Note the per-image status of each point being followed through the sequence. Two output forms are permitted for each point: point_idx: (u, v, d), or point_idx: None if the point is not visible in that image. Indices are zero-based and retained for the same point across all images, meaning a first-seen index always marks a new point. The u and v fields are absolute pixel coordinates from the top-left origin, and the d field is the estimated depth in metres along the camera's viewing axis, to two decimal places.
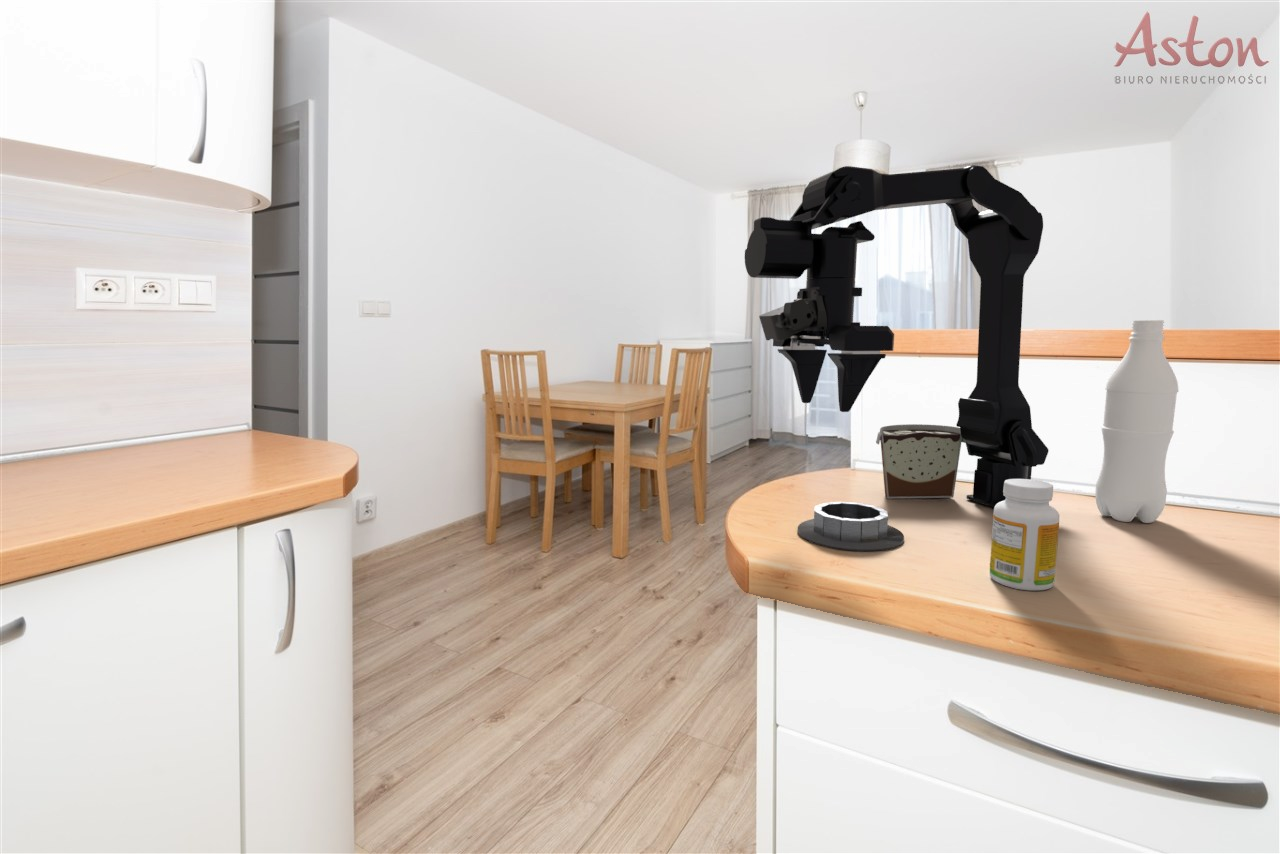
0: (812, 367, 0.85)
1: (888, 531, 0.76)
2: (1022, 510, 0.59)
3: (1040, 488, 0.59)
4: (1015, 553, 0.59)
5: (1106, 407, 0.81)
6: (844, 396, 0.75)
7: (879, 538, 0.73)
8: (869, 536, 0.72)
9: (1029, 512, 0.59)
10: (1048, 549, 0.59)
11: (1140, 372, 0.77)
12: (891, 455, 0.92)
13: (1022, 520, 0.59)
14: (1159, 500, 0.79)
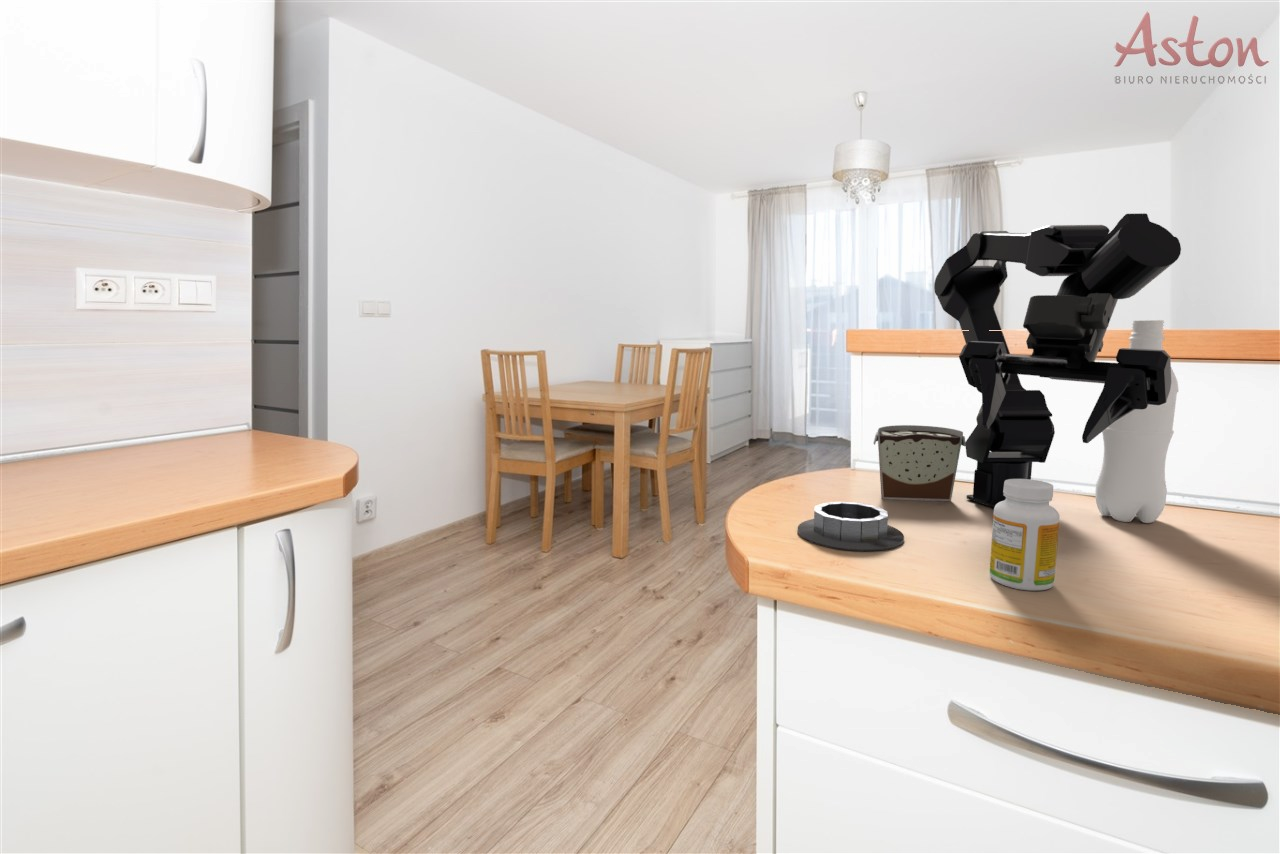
0: (998, 397, 0.72)
1: (888, 531, 0.76)
2: (1022, 510, 0.59)
3: (1040, 488, 0.59)
4: (1015, 553, 0.59)
5: None
6: (1098, 422, 0.62)
7: (879, 538, 0.73)
8: (869, 536, 0.72)
9: (1029, 512, 0.59)
10: (1048, 549, 0.59)
11: None
12: (887, 455, 0.92)
13: (1022, 520, 0.59)
14: (1159, 500, 0.79)
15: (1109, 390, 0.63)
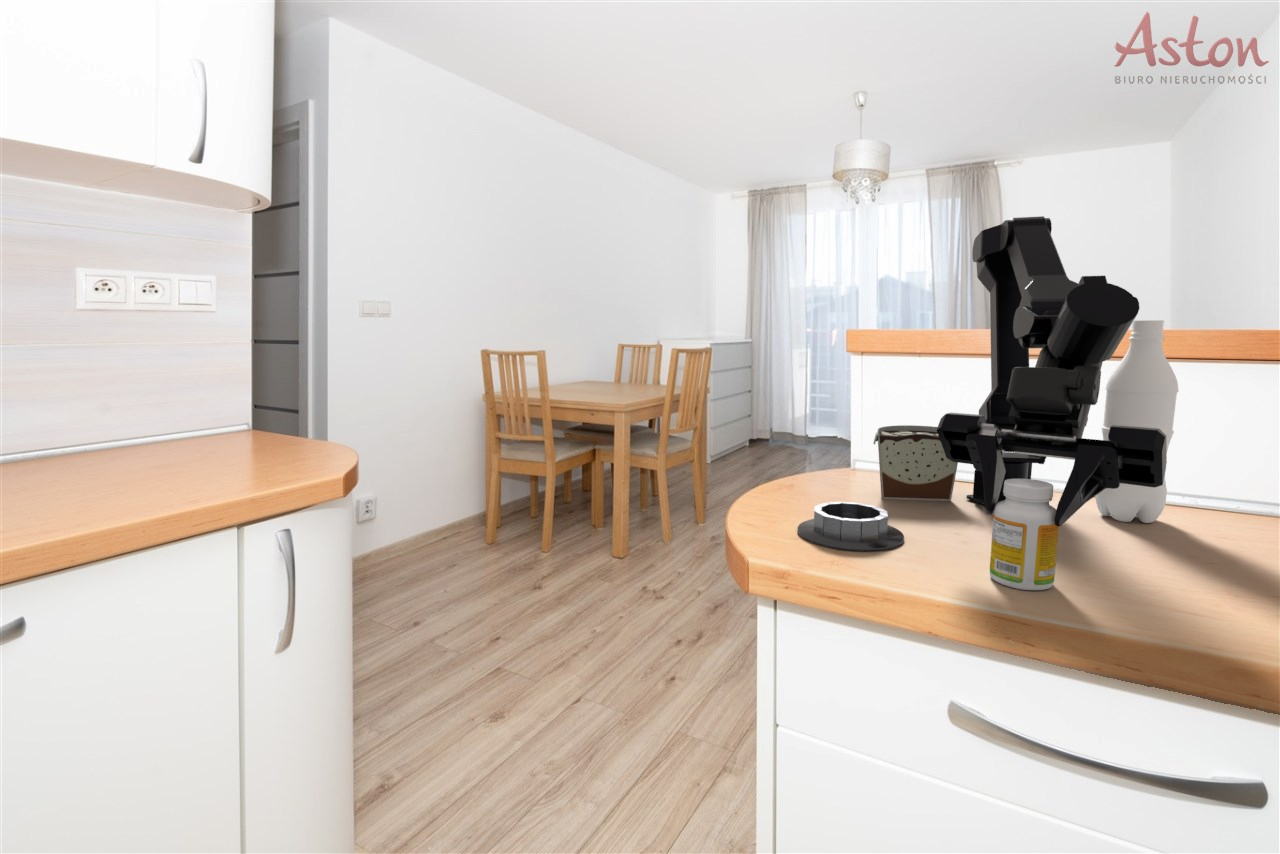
0: (999, 477, 0.64)
1: (888, 531, 0.76)
2: (1022, 510, 0.59)
3: (1040, 488, 0.59)
4: (1015, 553, 0.59)
5: (1106, 407, 0.81)
6: (1071, 504, 0.58)
7: (879, 538, 0.73)
8: (869, 536, 0.72)
9: (1029, 511, 0.59)
10: (1048, 549, 0.59)
11: (1140, 372, 0.77)
12: (887, 455, 0.92)
13: (1022, 520, 0.59)
14: (1159, 500, 0.79)
15: (1080, 469, 0.58)
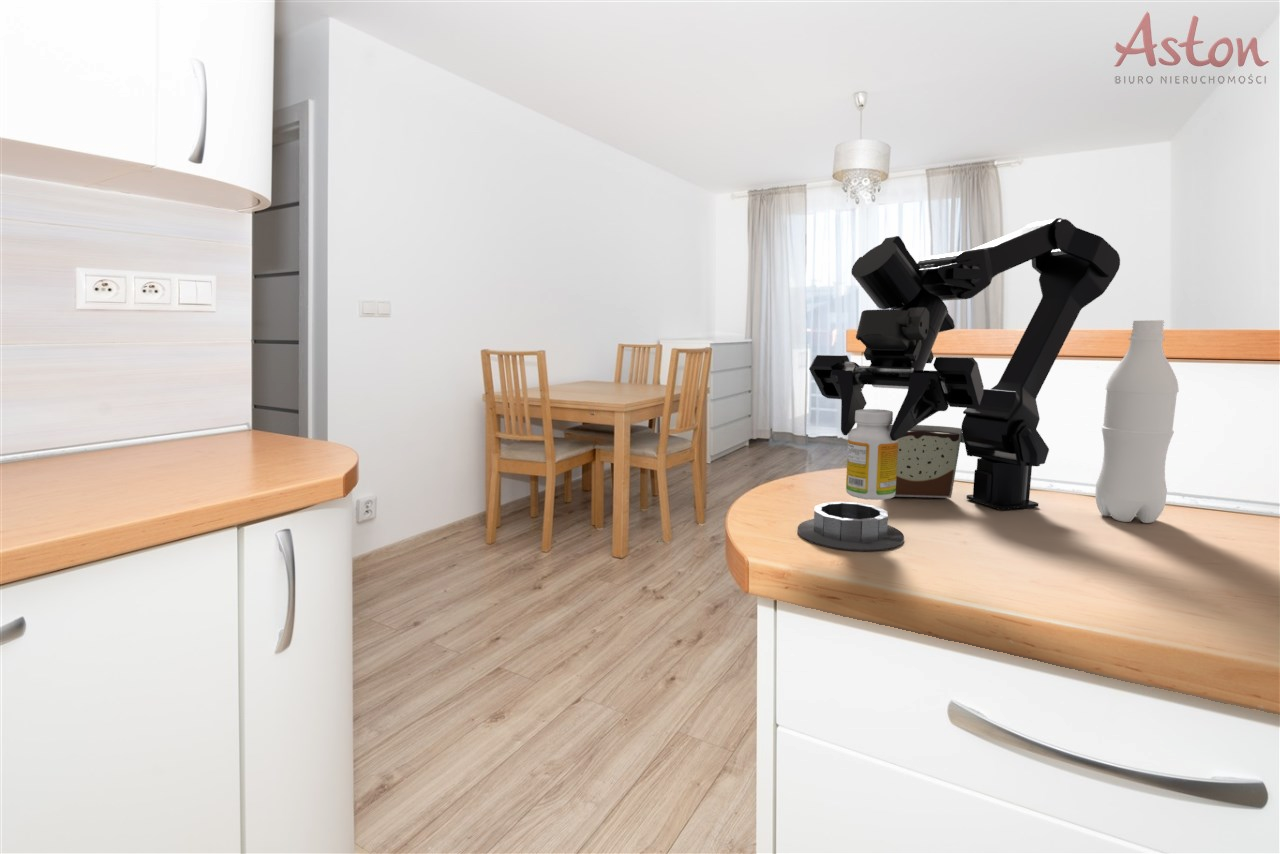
0: (857, 406, 0.76)
1: (888, 531, 0.76)
2: (866, 432, 0.71)
3: (880, 413, 0.70)
4: (861, 468, 0.71)
5: (1106, 407, 0.81)
6: (903, 421, 0.70)
7: (879, 538, 0.73)
8: (869, 536, 0.72)
9: (871, 433, 0.71)
10: (887, 464, 0.71)
11: (1140, 372, 0.77)
12: None
13: (866, 440, 0.71)
14: (1159, 500, 0.79)
15: (912, 393, 0.70)
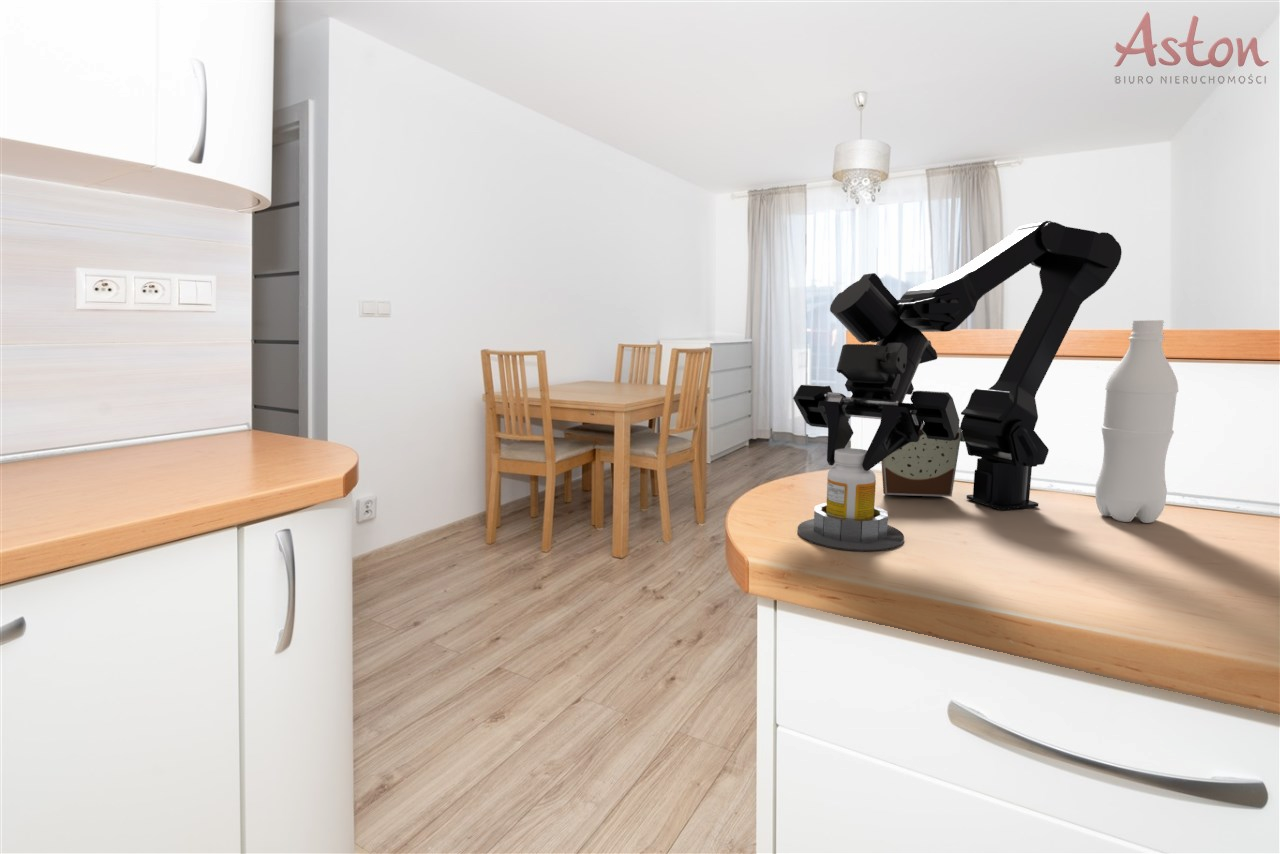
0: (844, 436, 0.78)
1: (888, 531, 0.76)
2: (844, 473, 0.73)
3: (858, 454, 0.73)
4: (839, 507, 0.74)
5: (1106, 407, 0.81)
6: (875, 452, 0.72)
7: (879, 538, 0.73)
8: (869, 536, 0.72)
9: (849, 474, 0.73)
10: (864, 504, 0.73)
11: (1140, 372, 0.77)
12: None
13: (844, 480, 0.73)
14: (1159, 500, 0.79)
15: (884, 425, 0.73)
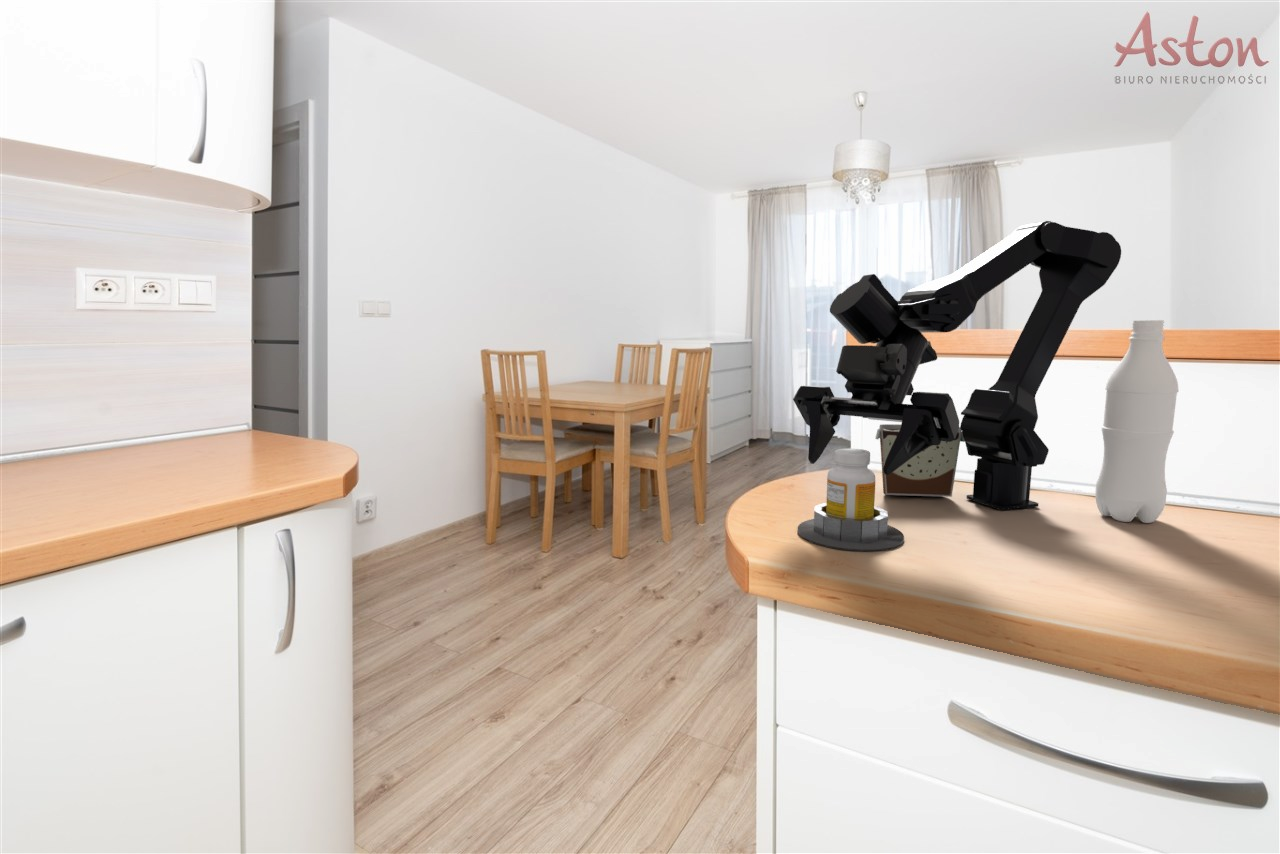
0: (825, 435, 0.80)
1: (888, 531, 0.76)
2: (844, 473, 0.73)
3: (857, 454, 0.73)
4: (839, 507, 0.74)
5: (1106, 407, 0.81)
6: (896, 456, 0.71)
7: (879, 538, 0.73)
8: (869, 536, 0.72)
9: (849, 474, 0.73)
10: (864, 504, 0.73)
11: (1140, 372, 0.77)
12: None
13: (844, 480, 0.73)
14: (1159, 500, 0.79)
15: (905, 428, 0.71)
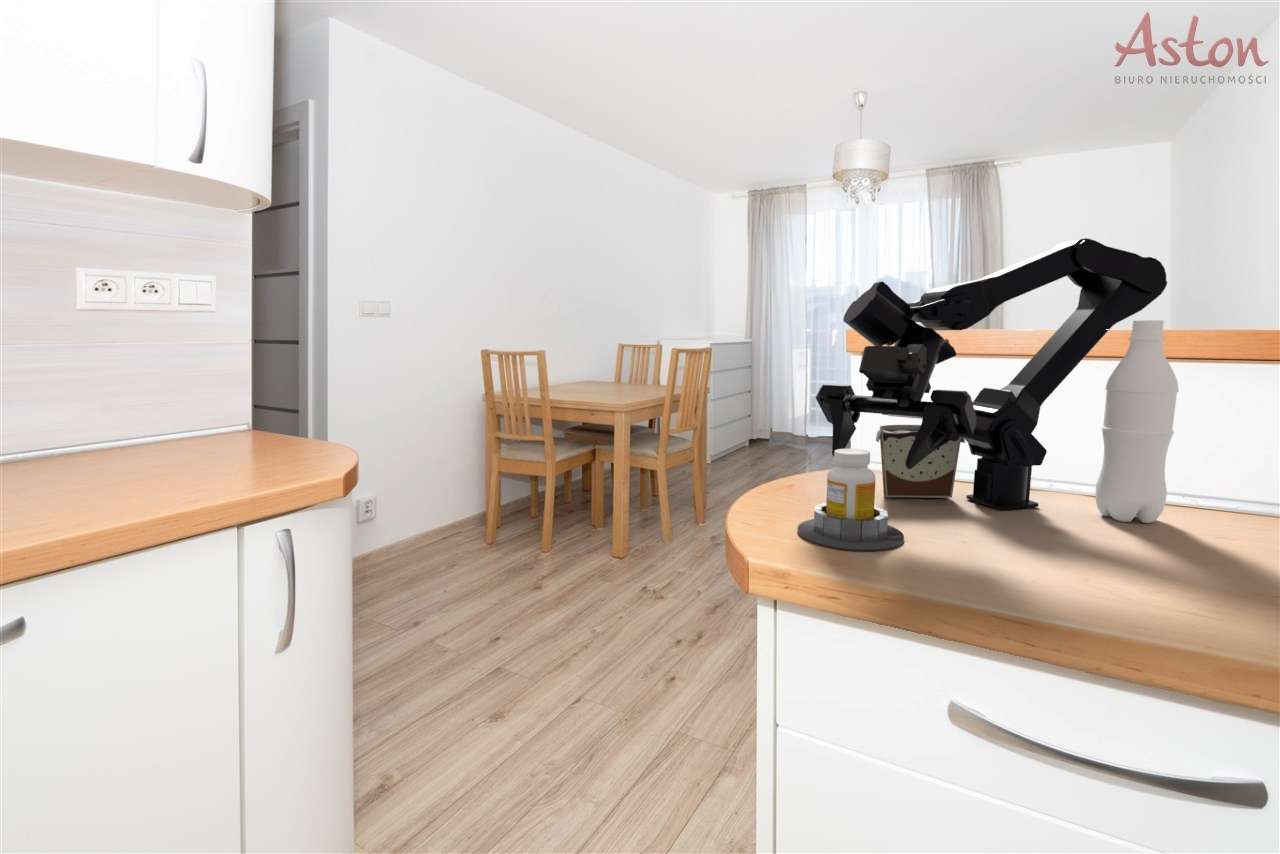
0: (847, 431, 0.84)
1: (888, 531, 0.76)
2: (844, 473, 0.73)
3: (857, 454, 0.73)
4: (839, 507, 0.74)
5: (1106, 407, 0.81)
6: (918, 451, 0.75)
7: (879, 538, 0.73)
8: (869, 536, 0.72)
9: (849, 473, 0.73)
10: (864, 504, 0.73)
11: (1140, 372, 0.77)
12: (890, 453, 0.92)
13: (844, 480, 0.73)
14: (1159, 500, 0.79)
15: (926, 424, 0.75)
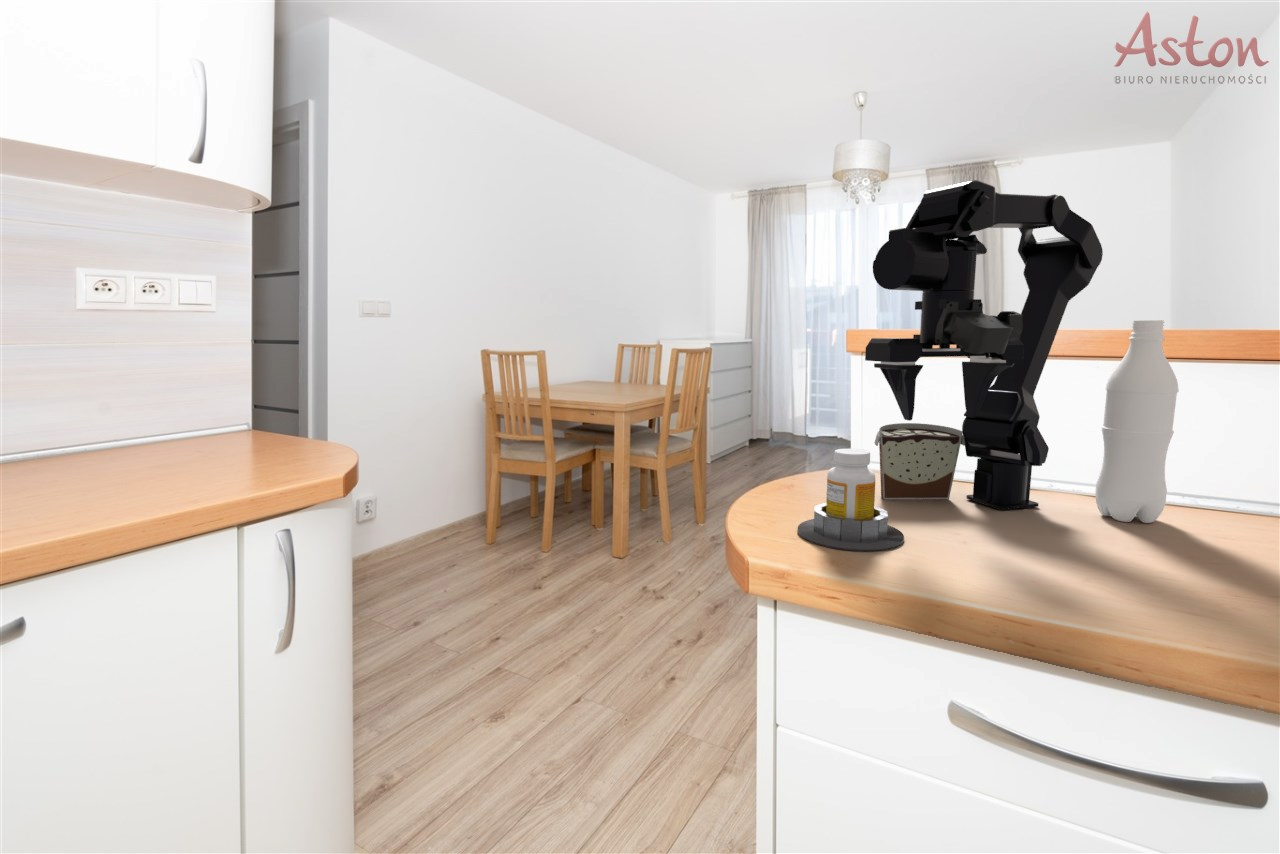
0: None
1: (888, 531, 0.76)
2: (844, 473, 0.73)
3: (857, 454, 0.73)
4: (839, 507, 0.74)
5: (1106, 407, 0.81)
6: None
7: (879, 538, 0.73)
8: (869, 536, 0.72)
9: (849, 473, 0.73)
10: (864, 504, 0.73)
11: (1140, 372, 0.77)
12: (889, 457, 0.91)
13: (844, 480, 0.73)
14: (1159, 500, 0.79)
15: (989, 377, 0.80)
